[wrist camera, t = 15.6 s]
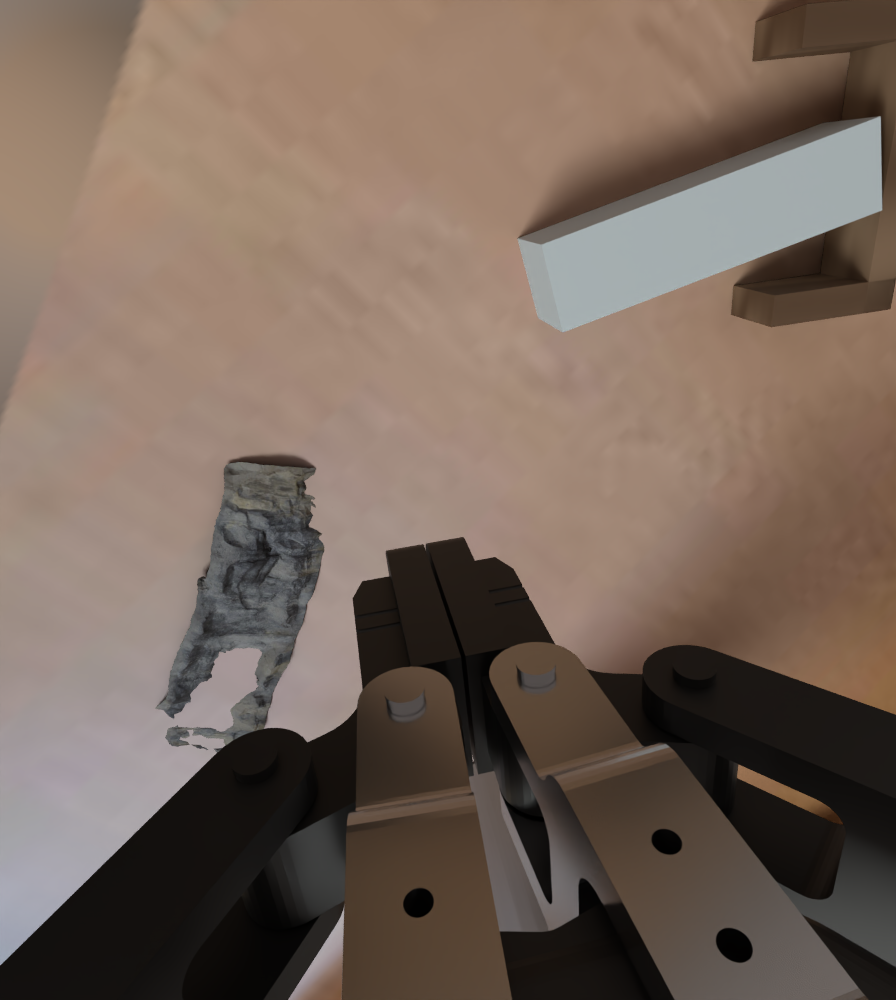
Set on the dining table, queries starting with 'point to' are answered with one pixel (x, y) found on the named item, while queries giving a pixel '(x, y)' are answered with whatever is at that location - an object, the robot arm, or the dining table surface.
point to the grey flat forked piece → (250, 590)
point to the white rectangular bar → (704, 222)
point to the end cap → (891, 232)
